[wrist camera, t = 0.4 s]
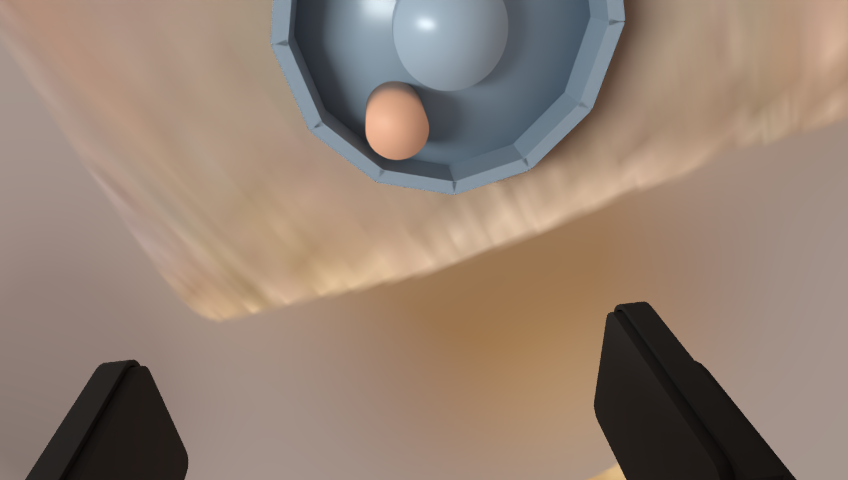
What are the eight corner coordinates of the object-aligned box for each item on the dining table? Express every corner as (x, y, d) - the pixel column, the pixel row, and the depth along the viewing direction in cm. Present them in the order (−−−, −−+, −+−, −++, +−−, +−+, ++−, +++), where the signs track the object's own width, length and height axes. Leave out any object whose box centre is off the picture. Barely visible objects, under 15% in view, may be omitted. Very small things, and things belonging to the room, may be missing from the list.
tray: (435, -280, 27) (445, -313, 23) (655, 10, 35) (687, 17, 32) (218, 38, 33) (201, 48, 30) (447, 218, 42) (455, 242, 38)
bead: (391, 68, 34) (394, 84, 31) (434, 107, 36) (442, 126, 32) (353, 112, 36) (352, 133, 32) (397, 148, 37) (400, 171, 33)
